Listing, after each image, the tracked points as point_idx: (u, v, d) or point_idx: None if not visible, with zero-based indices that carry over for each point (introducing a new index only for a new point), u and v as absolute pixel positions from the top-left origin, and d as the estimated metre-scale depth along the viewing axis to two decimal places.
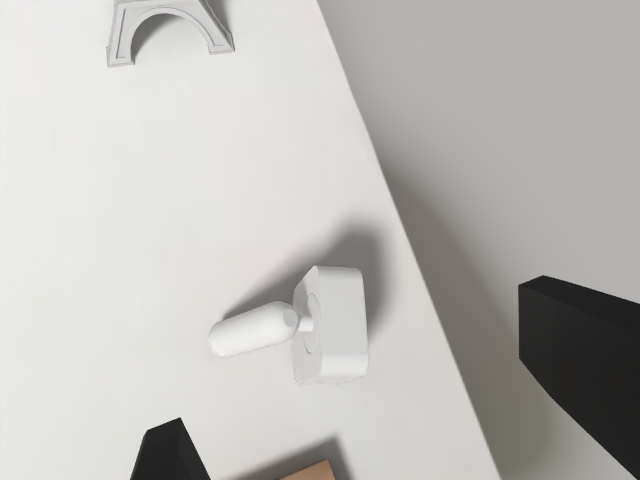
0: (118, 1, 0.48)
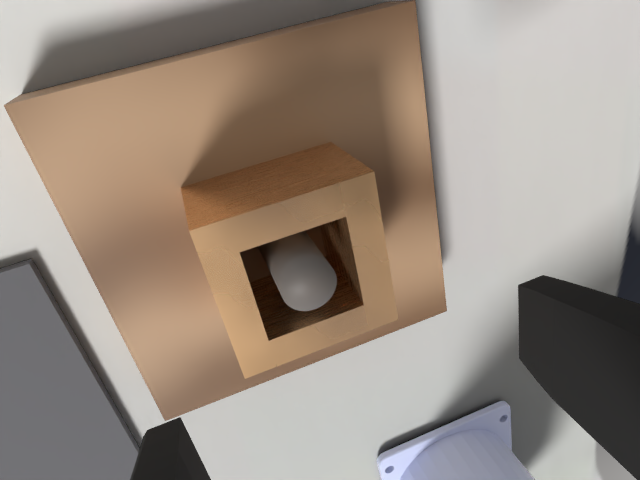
0: None
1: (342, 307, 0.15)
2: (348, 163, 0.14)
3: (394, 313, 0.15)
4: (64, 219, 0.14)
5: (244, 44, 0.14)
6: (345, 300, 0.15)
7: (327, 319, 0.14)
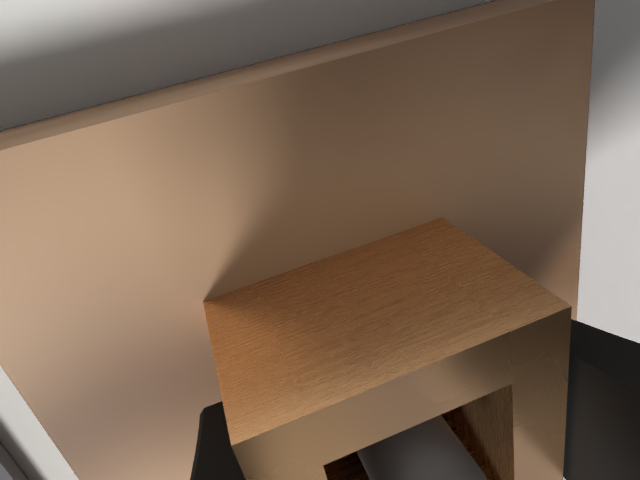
0: None
1: None
2: (503, 276, 0.08)
3: None
4: (4, 365, 0.08)
5: (318, 65, 0.08)
6: None
7: None
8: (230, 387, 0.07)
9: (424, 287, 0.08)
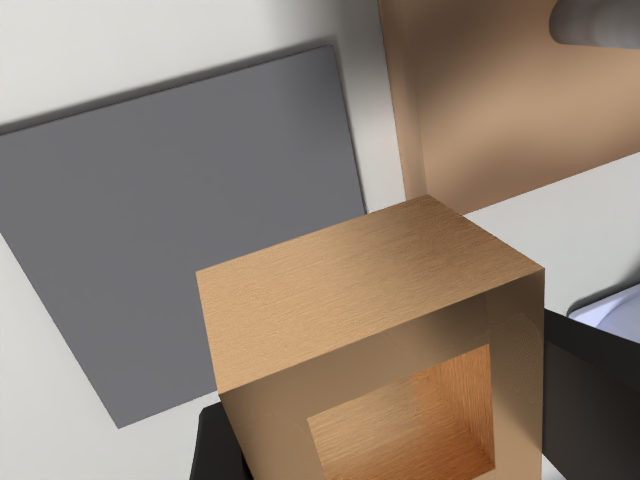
0: None
1: (458, 470, 0.09)
2: (482, 243, 0.08)
3: (537, 473, 0.09)
4: None
5: None
6: (460, 454, 0.09)
7: None
8: (219, 345, 0.07)
9: (407, 255, 0.08)
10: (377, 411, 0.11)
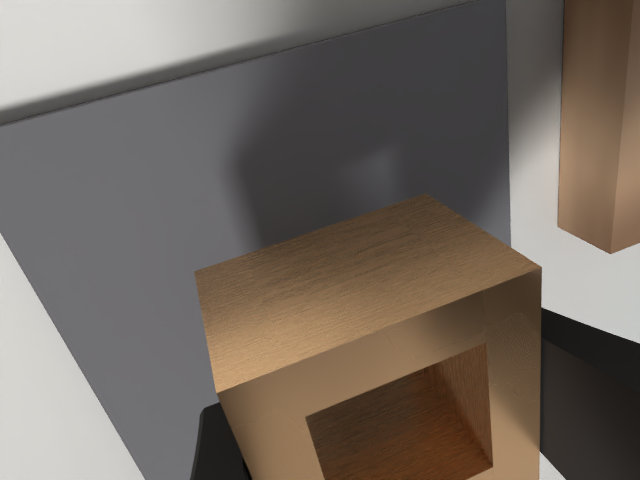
0: None
1: (457, 469, 0.09)
2: (479, 242, 0.08)
3: (535, 471, 0.09)
4: None
5: None
6: (458, 452, 0.09)
7: None
8: (217, 344, 0.07)
9: (404, 254, 0.08)
10: (375, 410, 0.11)
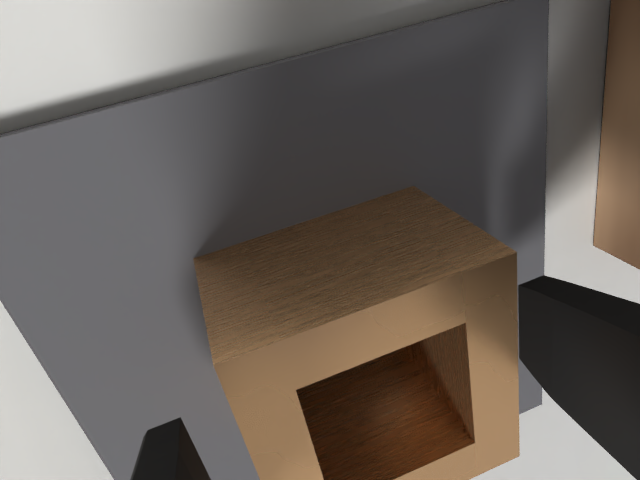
0: None
1: (441, 445, 0.10)
2: (461, 230, 0.09)
3: (516, 448, 0.10)
4: None
5: None
6: (442, 429, 0.10)
7: (420, 468, 0.09)
8: (214, 323, 0.08)
9: (391, 241, 0.09)
10: (366, 392, 0.11)
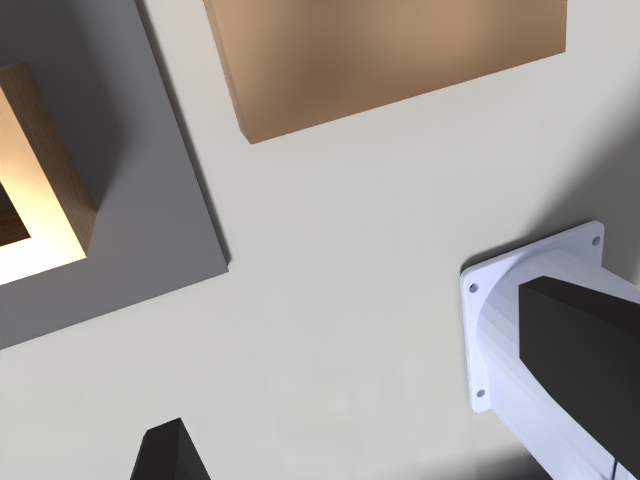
0: None
1: (10, 241, 0.13)
2: None
3: (78, 249, 0.13)
4: None
5: None
6: (21, 234, 0.13)
7: None
8: None
9: None
10: None
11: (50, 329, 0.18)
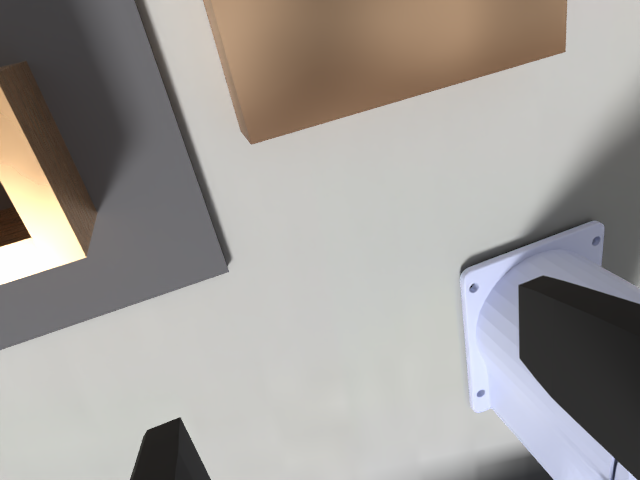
0: None
1: (10, 241, 0.13)
2: None
3: (78, 249, 0.13)
4: None
5: None
6: (21, 234, 0.13)
7: None
8: None
9: None
10: None
11: (50, 329, 0.18)
